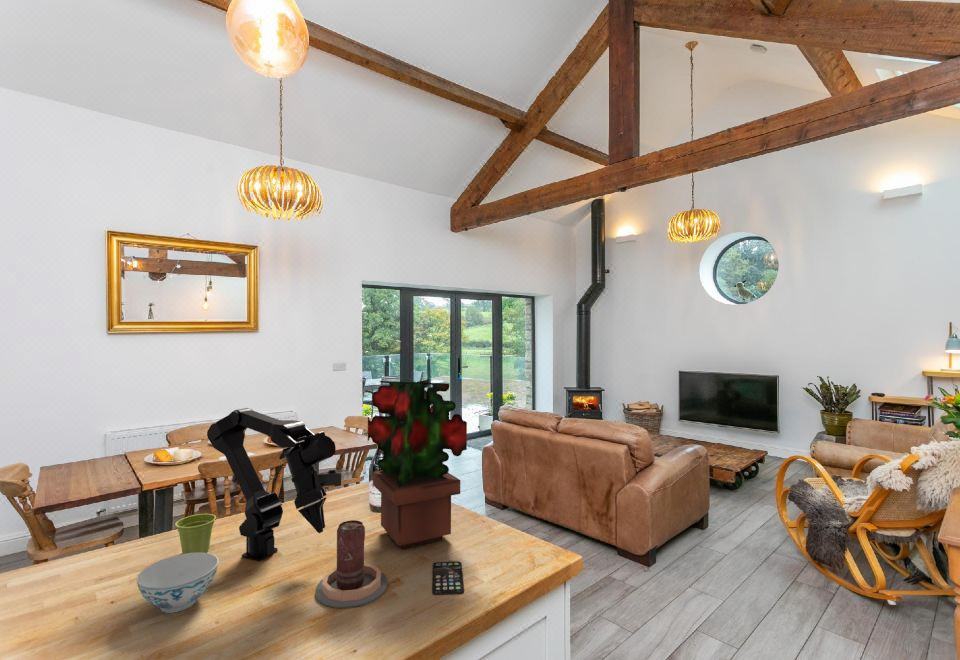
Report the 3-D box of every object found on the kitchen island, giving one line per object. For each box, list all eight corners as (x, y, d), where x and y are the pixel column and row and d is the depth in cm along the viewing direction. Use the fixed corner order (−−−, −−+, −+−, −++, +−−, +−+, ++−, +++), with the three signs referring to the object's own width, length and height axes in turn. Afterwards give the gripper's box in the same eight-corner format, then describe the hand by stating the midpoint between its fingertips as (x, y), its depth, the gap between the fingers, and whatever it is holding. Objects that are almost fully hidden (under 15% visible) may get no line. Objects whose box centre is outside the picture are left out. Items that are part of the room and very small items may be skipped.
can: (364, 590, 107) (364, 528, 107) (335, 593, 106) (335, 530, 106) (365, 576, 113) (366, 518, 113) (338, 579, 112) (338, 520, 112)
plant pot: (166, 556, 124) (166, 523, 124) (199, 542, 133) (200, 511, 133) (191, 563, 120) (191, 529, 120) (223, 548, 129) (223, 516, 129)
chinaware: (157, 634, 92) (157, 595, 92) (123, 610, 100) (123, 573, 100) (231, 597, 105) (232, 563, 105) (196, 578, 113) (196, 546, 113)
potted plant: (390, 561, 122) (391, 388, 122) (367, 529, 141) (368, 380, 142) (466, 542, 133) (467, 384, 133) (434, 515, 152) (435, 377, 152)
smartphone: (461, 561, 122) (464, 592, 107) (461, 563, 122) (464, 595, 107) (432, 562, 121) (431, 593, 106) (432, 564, 121) (431, 596, 106)
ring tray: (300, 600, 104) (300, 588, 104) (343, 566, 119) (343, 556, 119) (362, 614, 99) (362, 602, 99) (399, 577, 114) (399, 566, 114)
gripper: (332, 456, 113) (354, 519, 111) (335, 458, 131) (353, 513, 128) (285, 475, 110) (306, 541, 107) (294, 475, 127) (312, 531, 124)
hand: (322, 530), depth 117 cm, fingers open, 9 cm apart
